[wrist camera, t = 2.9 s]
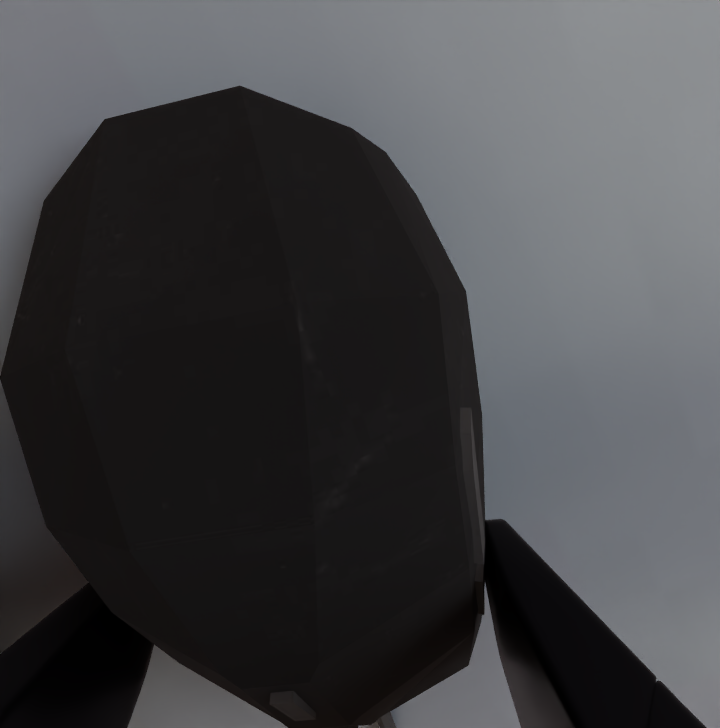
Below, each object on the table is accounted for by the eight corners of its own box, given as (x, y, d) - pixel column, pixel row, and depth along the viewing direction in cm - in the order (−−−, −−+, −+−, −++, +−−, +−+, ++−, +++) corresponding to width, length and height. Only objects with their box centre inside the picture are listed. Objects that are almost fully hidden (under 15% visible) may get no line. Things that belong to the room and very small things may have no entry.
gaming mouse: (276, 738, 13) (237, 964, 10) (-3, 156, 7) (-375, 182, 4) (513, 718, 13) (567, 955, 9) (421, 50, 7) (472, -49, 3)
